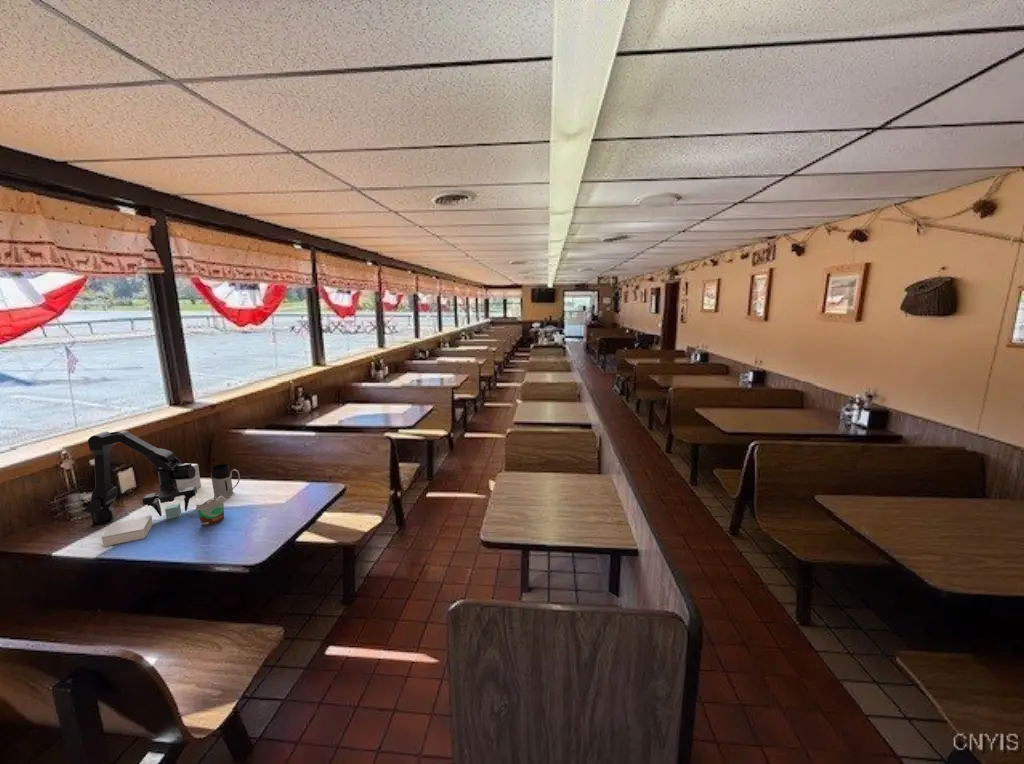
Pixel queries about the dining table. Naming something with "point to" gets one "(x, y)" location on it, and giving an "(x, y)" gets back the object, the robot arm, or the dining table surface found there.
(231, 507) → the dining table surface
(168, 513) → the teal block
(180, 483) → the supplement box
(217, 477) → the grey black mug
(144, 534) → the flat beige block
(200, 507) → the food container
